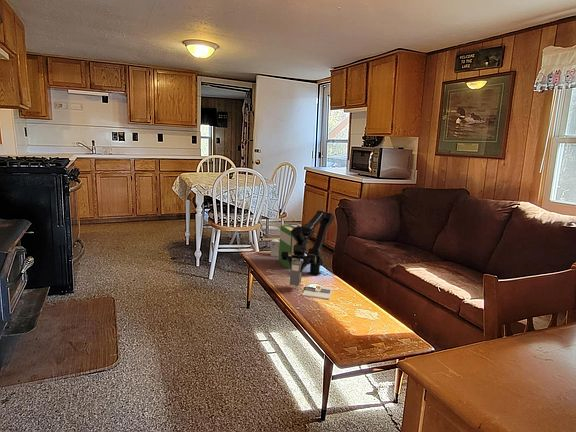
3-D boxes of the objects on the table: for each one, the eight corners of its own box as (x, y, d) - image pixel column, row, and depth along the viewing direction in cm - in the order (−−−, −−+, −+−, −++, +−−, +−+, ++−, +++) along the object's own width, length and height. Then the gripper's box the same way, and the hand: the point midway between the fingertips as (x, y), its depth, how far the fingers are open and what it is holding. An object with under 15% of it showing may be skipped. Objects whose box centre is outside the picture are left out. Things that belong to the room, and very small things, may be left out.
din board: (307, 285, 216) (307, 284, 216) (332, 288, 213) (332, 287, 213) (302, 295, 200) (302, 294, 200) (329, 299, 198) (329, 298, 197)
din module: (292, 280, 212) (293, 259, 210) (301, 281, 211) (302, 260, 209) (289, 284, 206) (291, 262, 204) (298, 285, 205) (300, 264, 203)
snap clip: (316, 287, 207) (316, 285, 207) (320, 287, 207) (320, 286, 207) (315, 288, 206) (315, 286, 206) (320, 289, 205) (320, 287, 205)
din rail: (306, 288, 209) (306, 286, 209) (330, 292, 206) (330, 289, 206) (305, 290, 207) (305, 287, 207) (330, 293, 204) (330, 291, 204)
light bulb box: (286, 254, 272) (287, 239, 270) (285, 257, 266) (286, 242, 264) (271, 253, 273) (272, 238, 271) (270, 256, 267) (271, 240, 265)
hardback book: (299, 268, 244) (302, 231, 240) (288, 269, 241) (291, 231, 237) (288, 260, 260) (291, 225, 256) (278, 260, 257) (280, 225, 253)
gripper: (282, 236, 210) (276, 261, 201) (317, 240, 206) (312, 266, 198) (285, 246, 219) (279, 271, 210) (318, 250, 215) (313, 276, 207)
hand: (295, 271), depth 206 cm, fingers closed on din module, 5 cm apart
